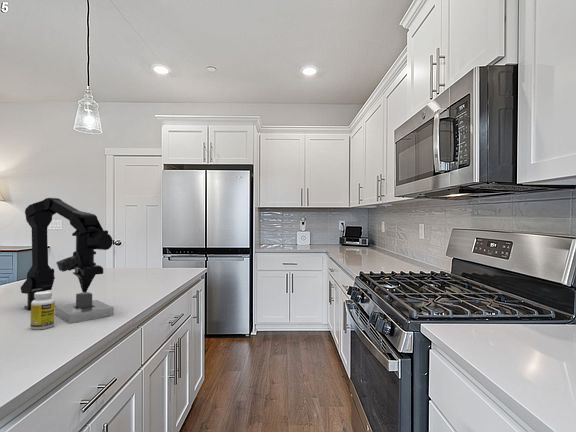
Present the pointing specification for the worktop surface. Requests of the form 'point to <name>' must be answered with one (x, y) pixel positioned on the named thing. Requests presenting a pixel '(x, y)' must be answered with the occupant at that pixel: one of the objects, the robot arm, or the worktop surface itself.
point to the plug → (84, 300)
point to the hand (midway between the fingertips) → (84, 292)
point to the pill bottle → (42, 310)
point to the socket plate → (83, 312)
